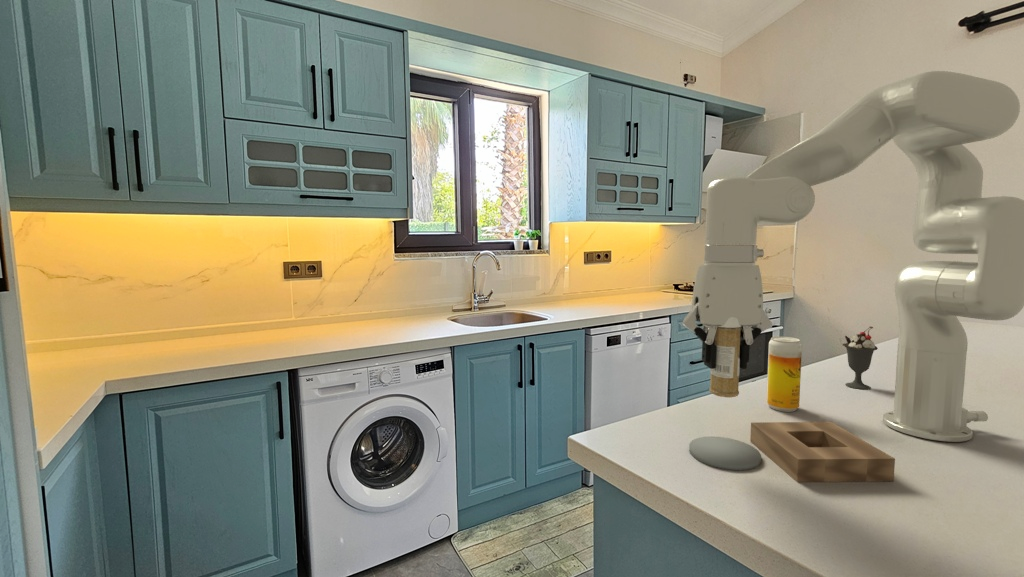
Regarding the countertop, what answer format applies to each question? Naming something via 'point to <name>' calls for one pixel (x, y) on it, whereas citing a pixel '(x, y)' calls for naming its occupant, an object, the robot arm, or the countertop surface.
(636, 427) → the countertop surface
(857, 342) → the sundae
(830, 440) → the walnut pocket block
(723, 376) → the sprinkles bottle
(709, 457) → the slate coaster
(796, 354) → the beer can
